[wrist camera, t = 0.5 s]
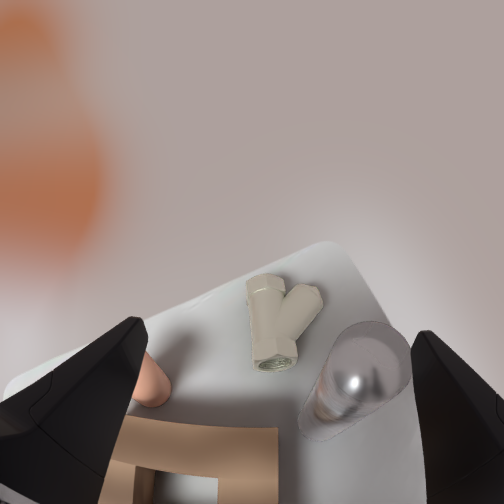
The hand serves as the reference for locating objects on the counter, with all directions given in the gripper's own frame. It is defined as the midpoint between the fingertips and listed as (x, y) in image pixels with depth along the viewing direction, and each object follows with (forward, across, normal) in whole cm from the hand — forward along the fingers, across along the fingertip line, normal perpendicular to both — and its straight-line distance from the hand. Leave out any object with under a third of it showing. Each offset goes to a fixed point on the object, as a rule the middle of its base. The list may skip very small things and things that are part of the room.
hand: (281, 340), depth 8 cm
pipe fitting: (+13, -1, +13) cm, 18 cm away
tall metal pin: (+5, -4, +15) cm, 16 cm away
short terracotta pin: (+6, +10, +14) cm, 19 cm away
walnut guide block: (-3, +6, +17) cm, 18 cm away
